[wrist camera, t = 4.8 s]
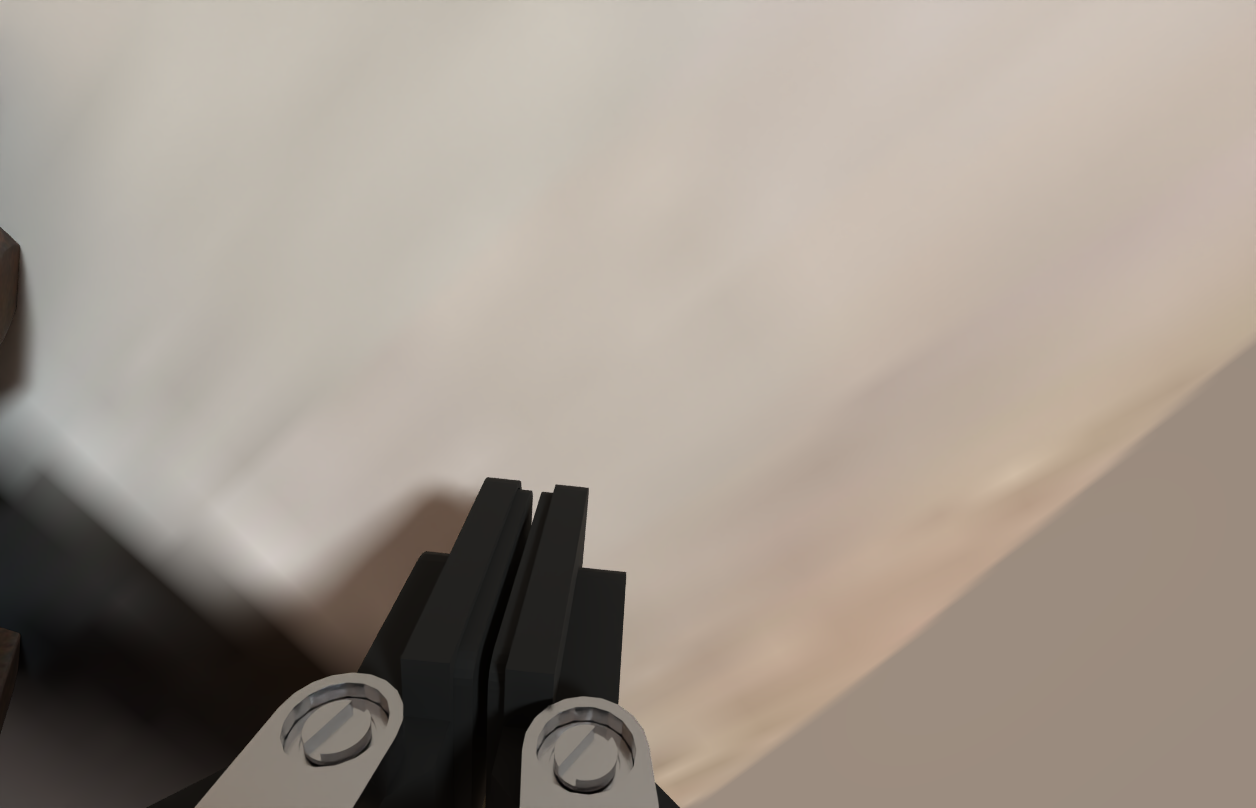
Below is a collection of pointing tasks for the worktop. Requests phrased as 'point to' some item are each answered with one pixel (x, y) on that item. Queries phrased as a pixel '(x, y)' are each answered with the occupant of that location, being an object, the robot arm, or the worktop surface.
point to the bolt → (3, 285)
